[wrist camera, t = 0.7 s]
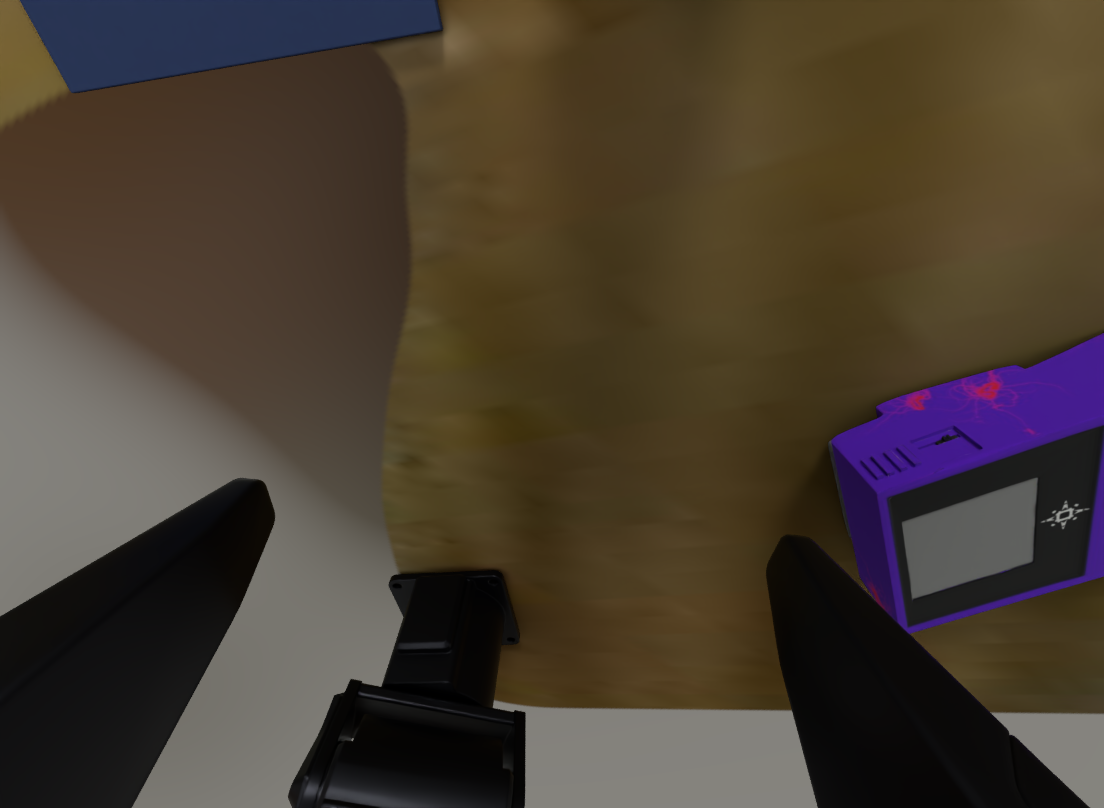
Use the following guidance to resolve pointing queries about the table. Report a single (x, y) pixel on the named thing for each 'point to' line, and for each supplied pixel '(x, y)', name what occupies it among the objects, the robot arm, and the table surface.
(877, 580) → the handheld gaming console
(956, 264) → the table surface
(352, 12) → the navy cloth
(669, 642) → the table surface
